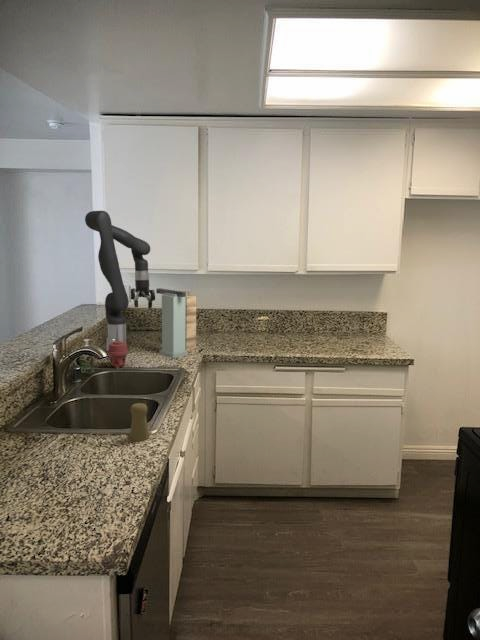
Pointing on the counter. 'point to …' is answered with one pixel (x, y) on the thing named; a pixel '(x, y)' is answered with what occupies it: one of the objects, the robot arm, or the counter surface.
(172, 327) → the frame
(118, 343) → the mechanical component
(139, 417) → the cork
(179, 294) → the lever bar
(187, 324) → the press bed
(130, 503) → the counter surface
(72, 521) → the counter surface
